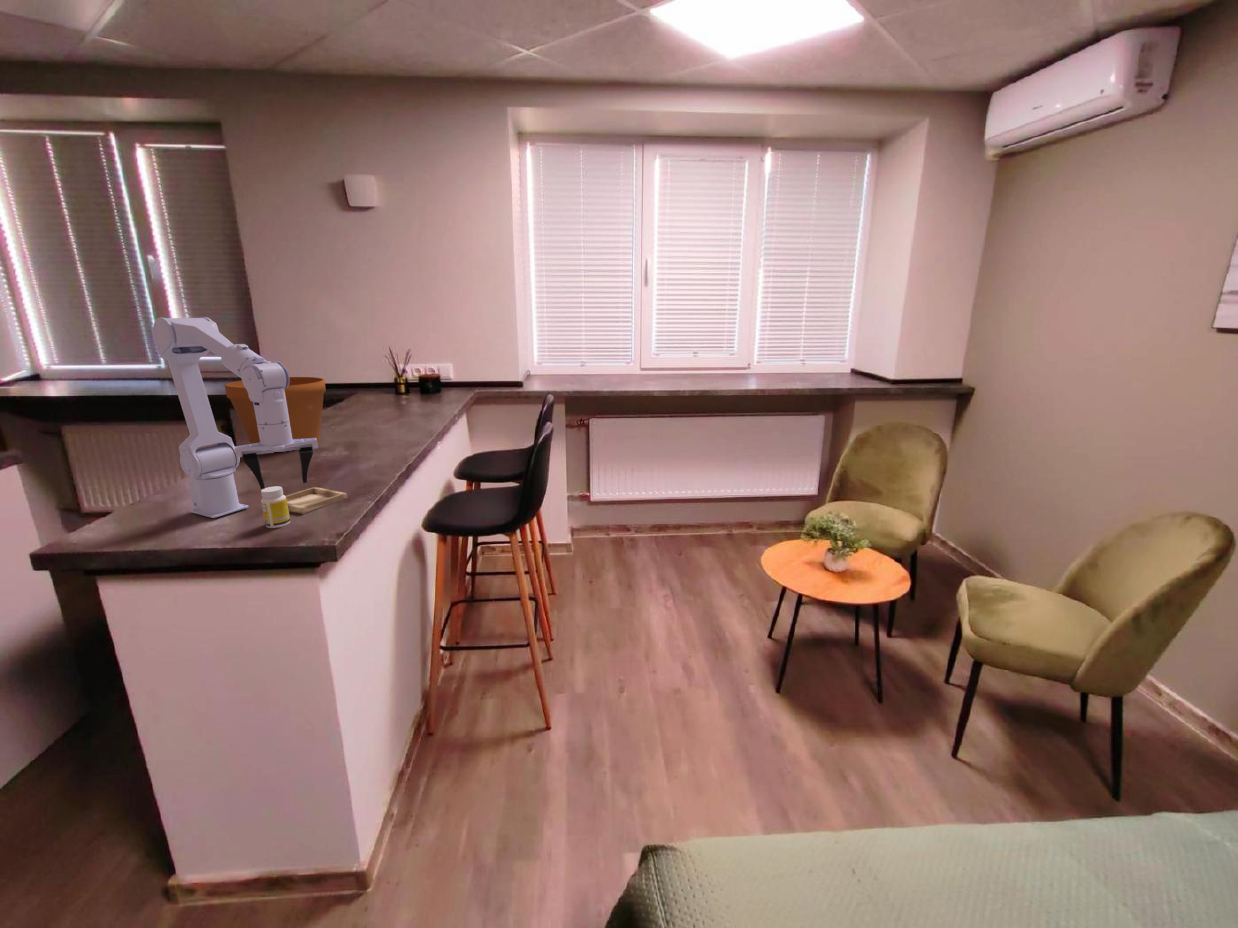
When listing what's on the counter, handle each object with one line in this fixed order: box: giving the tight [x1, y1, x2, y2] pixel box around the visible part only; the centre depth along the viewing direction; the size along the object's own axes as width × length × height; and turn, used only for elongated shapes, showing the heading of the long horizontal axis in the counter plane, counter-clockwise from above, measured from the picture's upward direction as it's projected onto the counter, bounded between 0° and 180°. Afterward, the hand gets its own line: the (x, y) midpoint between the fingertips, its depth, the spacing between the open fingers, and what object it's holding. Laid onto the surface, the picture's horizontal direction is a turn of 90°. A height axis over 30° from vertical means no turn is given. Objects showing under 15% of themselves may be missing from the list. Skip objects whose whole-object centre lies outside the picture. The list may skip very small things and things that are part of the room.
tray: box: [285, 486, 348, 516], centre depth 133 cm, size 12×12×2 cm
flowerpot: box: [224, 376, 327, 445], centre depth 180 cm, size 28×28×24 cm
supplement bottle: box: [260, 485, 291, 529], centre depth 119 cm, size 5×5×8 cm
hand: (284, 484), depth 115 cm, fingers open, 7 cm apart
